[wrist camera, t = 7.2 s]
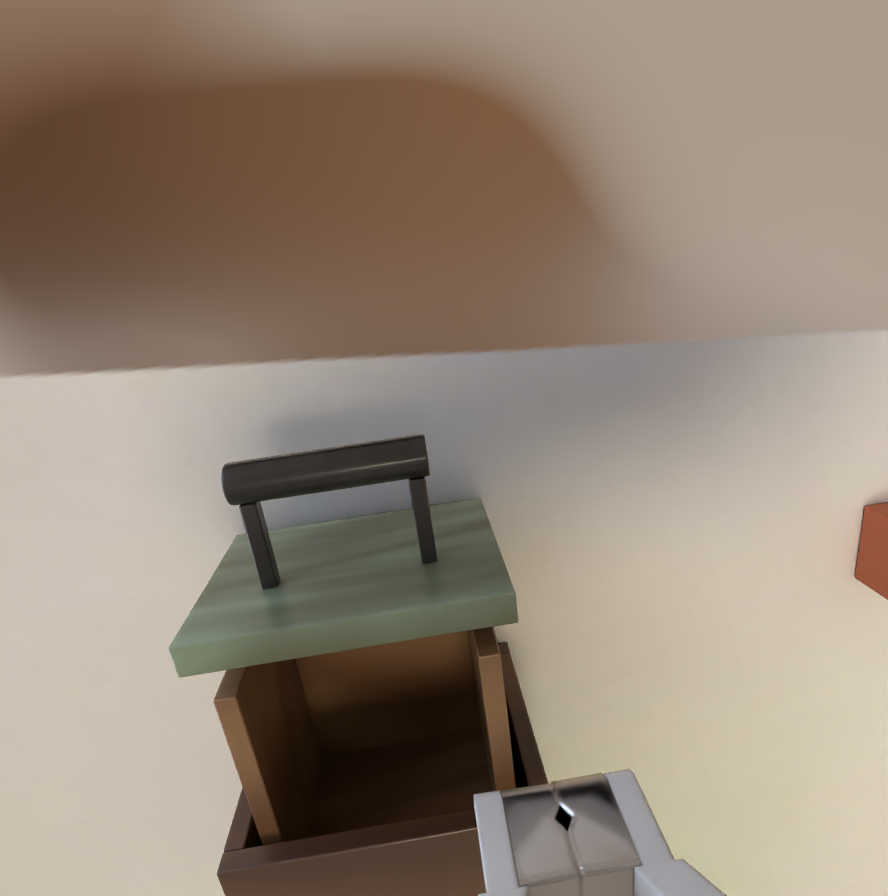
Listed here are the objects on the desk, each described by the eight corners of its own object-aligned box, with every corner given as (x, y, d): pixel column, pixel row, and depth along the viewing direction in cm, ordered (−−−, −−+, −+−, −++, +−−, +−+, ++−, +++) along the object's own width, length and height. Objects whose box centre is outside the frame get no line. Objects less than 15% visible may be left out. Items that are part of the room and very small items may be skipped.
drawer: (207, 433, 23) (116, 510, 16) (468, 394, 23) (501, 452, 16) (299, 754, 29) (266, 920, 22) (506, 719, 29) (543, 870, 22)
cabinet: (273, 680, 28) (215, 874, 19) (507, 642, 29) (557, 813, 20) (328, 867, 33) (302, 1093, 24) (527, 832, 34) (576, 1040, 24)
